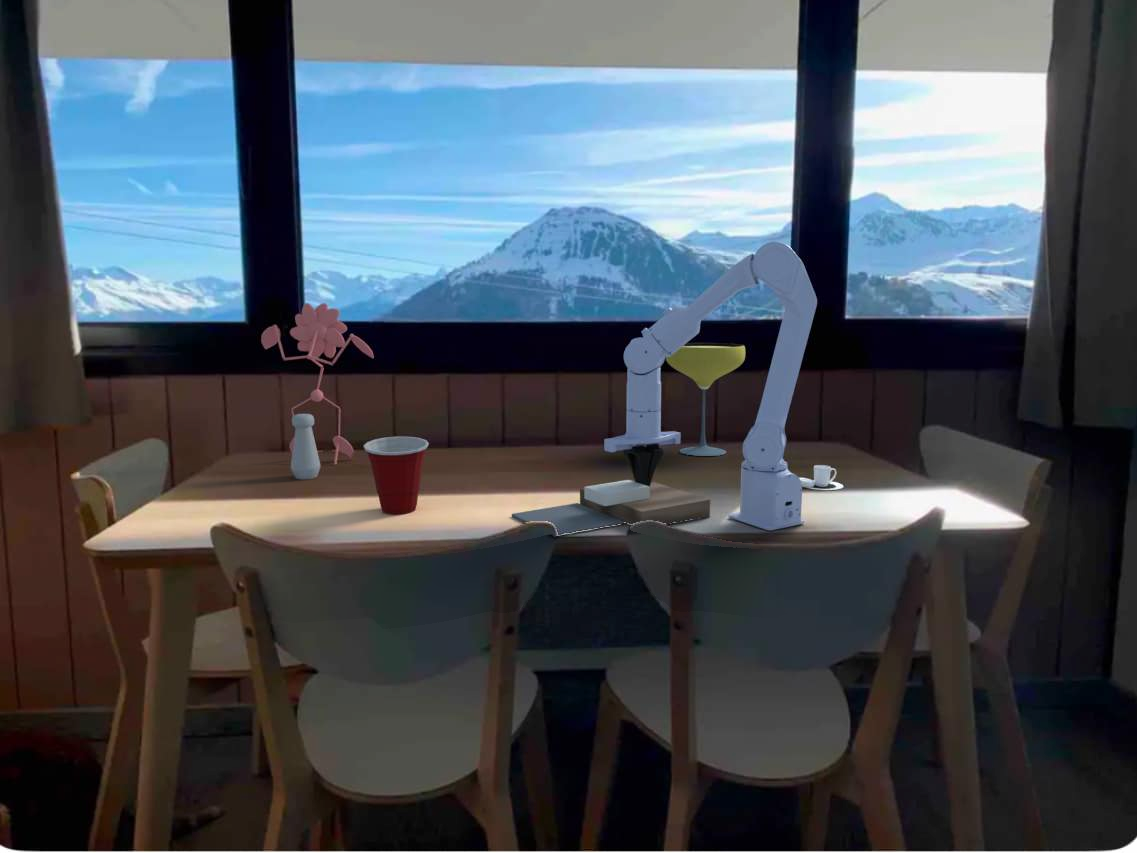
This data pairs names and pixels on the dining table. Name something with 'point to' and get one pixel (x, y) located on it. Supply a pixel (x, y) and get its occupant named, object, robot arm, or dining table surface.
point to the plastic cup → (397, 471)
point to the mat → (569, 518)
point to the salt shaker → (304, 448)
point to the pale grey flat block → (616, 492)
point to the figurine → (318, 351)
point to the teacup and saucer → (821, 478)
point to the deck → (656, 506)
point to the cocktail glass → (706, 376)
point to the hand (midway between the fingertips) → (642, 489)
